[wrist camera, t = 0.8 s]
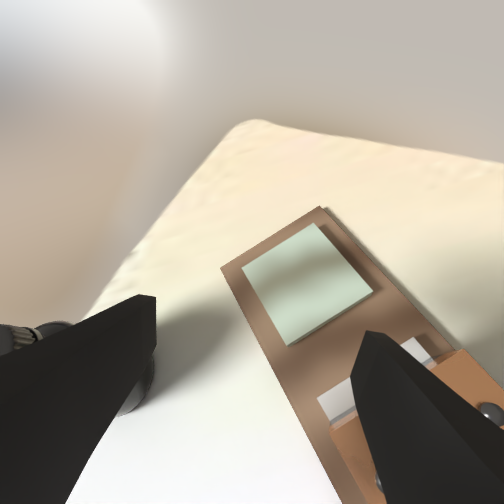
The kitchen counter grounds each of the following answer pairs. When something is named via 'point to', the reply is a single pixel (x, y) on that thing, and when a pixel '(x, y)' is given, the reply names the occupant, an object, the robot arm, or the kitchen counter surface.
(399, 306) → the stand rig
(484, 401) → the plate
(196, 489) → the kitchen counter surface
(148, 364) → the supplement bottle
